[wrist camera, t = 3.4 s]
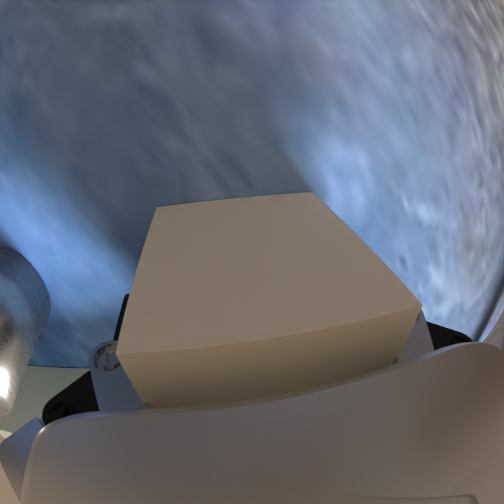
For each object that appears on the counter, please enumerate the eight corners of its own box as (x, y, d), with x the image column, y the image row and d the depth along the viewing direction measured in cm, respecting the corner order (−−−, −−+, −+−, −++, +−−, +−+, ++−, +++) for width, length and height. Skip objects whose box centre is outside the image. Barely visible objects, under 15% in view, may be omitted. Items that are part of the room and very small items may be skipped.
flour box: (156, 206, 10) (115, 353, 4) (312, 191, 11) (421, 305, 5) (182, 325, 13) (185, 463, 8) (304, 308, 14) (358, 431, 8)
